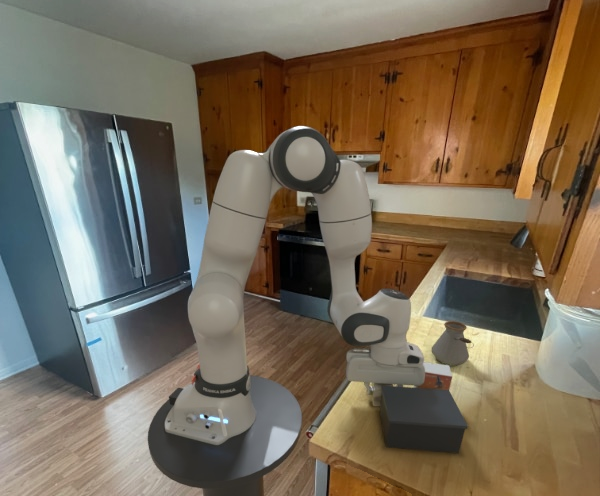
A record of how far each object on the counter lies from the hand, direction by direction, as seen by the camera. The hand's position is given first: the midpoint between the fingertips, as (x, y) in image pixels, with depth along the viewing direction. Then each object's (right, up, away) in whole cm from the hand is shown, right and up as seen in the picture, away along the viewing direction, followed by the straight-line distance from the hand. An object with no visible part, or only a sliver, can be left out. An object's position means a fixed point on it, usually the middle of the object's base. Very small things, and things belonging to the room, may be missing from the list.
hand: (381, 394), depth 90 cm
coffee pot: (+27, +4, +16) cm, 31 cm away
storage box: (+6, -6, -10) cm, 13 cm away
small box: (+13, -2, +1) cm, 13 cm away
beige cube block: (0, -2, +1) cm, 2 cm away
